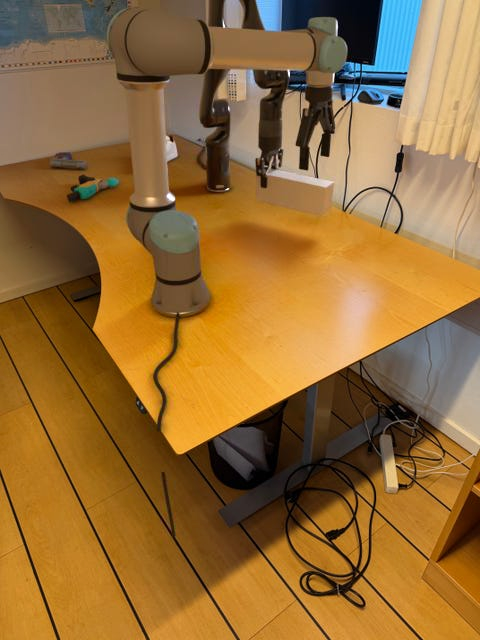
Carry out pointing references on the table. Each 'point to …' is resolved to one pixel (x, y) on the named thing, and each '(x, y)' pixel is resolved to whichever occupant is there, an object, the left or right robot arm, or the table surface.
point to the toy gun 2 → (90, 187)
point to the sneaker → (171, 147)
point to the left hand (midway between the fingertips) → (314, 162)
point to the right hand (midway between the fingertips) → (268, 184)
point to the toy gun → (66, 161)
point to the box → (296, 192)
